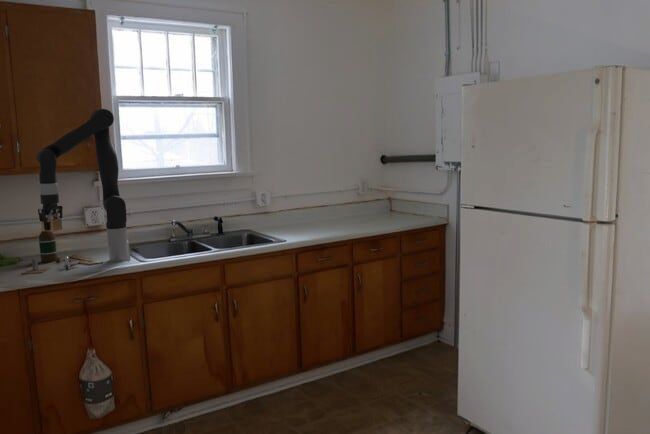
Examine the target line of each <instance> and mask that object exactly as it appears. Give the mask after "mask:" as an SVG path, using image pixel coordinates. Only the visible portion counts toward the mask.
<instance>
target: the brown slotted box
mask: <svg viewBox="0 0 650 434" xmlns="http://www.w3.org/2000/svg"><path fill="white" fill-rule="evenodd" d="M46 220H47V219H46ZM40 223H41V232H42V231H45V229H44V222H41V221H40ZM49 225H50V230H49V231H52V232H53V233H54V232H58V231H61V230H63V222H62V218H61V219H53V218H50V220H49Z"/></svg>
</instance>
